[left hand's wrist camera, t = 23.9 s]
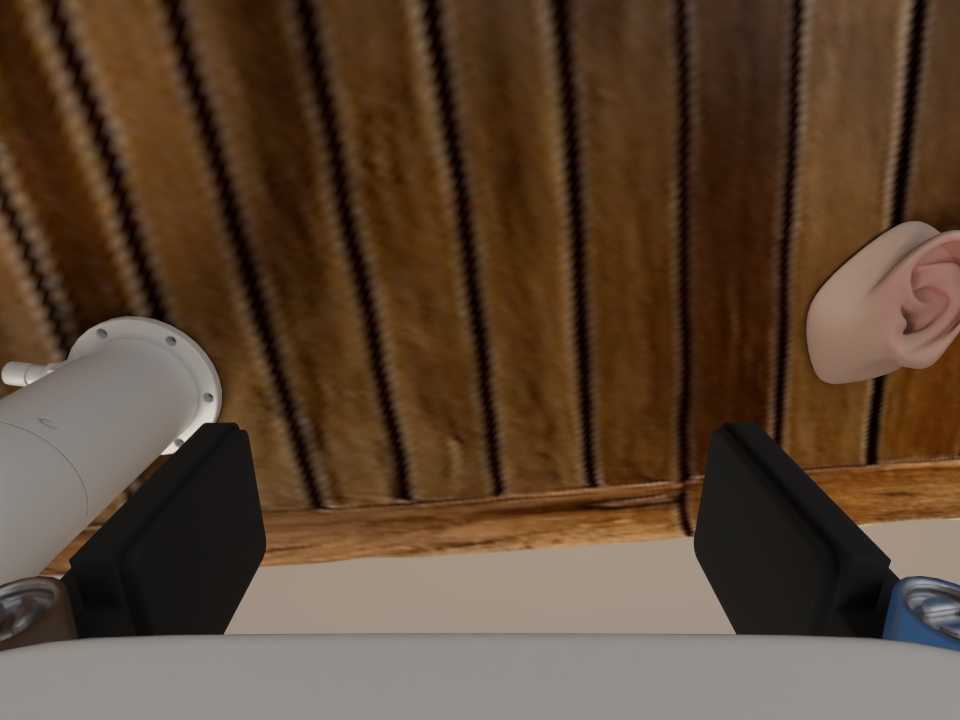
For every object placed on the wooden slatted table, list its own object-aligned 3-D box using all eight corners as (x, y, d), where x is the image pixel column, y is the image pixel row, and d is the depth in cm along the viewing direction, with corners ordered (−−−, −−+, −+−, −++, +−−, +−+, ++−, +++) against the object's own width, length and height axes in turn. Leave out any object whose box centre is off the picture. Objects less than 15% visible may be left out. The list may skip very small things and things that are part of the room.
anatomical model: (862, 426, 45) (799, 317, 42) (833, 404, 49) (773, 303, 46) (1029, 331, 42) (975, 206, 39) (984, 316, 46) (932, 200, 43)
